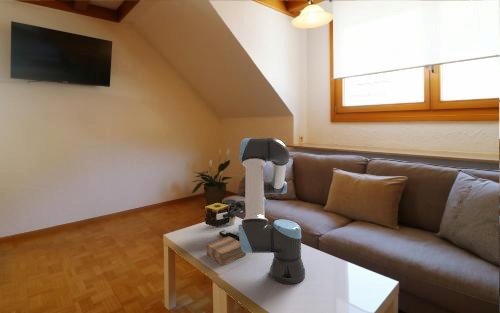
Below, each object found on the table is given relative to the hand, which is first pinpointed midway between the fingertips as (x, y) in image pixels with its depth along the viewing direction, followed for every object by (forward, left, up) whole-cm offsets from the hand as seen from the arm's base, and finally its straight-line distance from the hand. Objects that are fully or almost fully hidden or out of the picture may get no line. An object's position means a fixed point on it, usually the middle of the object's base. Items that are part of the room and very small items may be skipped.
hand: (211, 214), depth 149 cm
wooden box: (-18, +2, -16) cm, 24 cm away
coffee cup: (+17, -21, -16) cm, 32 cm away
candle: (0, -3, -6) cm, 7 cm away
